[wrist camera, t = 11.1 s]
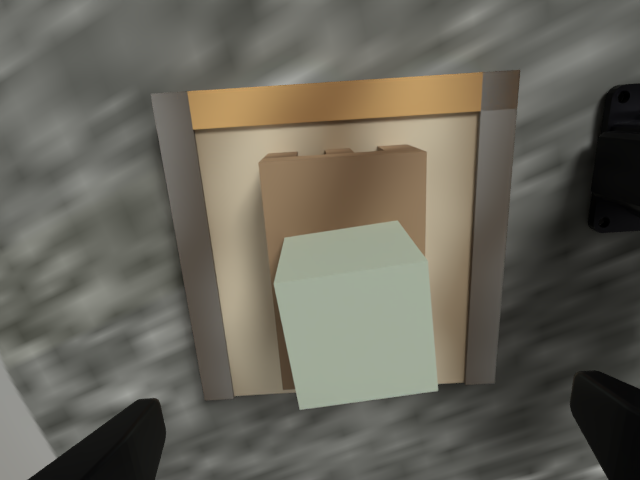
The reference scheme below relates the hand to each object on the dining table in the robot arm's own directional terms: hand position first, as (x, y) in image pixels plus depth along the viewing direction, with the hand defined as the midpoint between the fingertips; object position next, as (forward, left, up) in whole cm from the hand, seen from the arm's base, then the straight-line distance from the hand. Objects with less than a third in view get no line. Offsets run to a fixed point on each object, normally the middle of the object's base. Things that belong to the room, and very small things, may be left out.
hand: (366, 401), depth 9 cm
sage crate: (0, 0, -6) cm, 6 cm away
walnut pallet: (0, 0, -9) cm, 9 cm away
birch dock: (0, 0, -11) cm, 11 cm away
